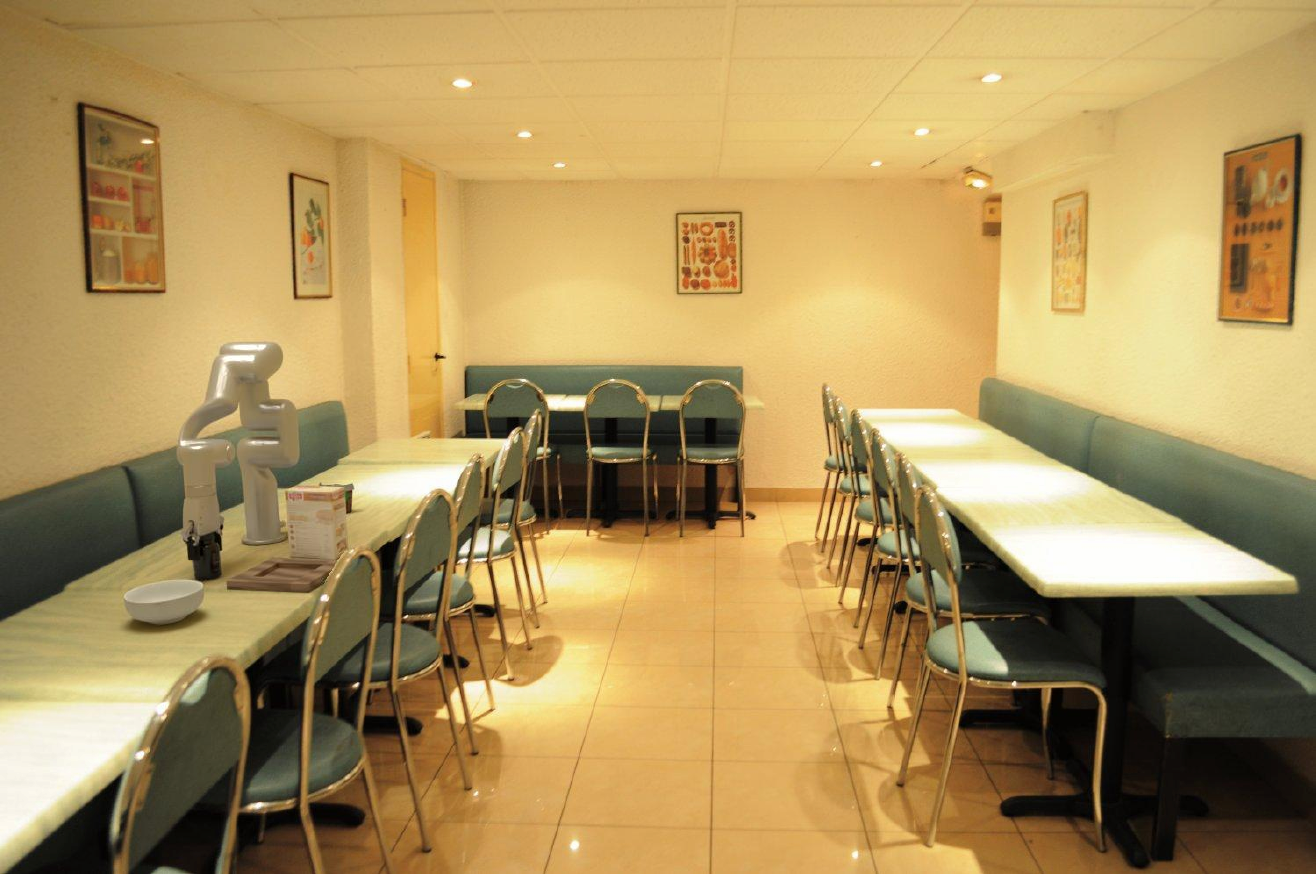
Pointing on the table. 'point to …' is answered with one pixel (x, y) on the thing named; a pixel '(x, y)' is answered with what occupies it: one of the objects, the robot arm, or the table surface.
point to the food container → (347, 494)
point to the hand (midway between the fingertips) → (205, 555)
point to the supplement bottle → (208, 559)
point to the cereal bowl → (164, 601)
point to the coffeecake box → (316, 521)
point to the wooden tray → (284, 575)
